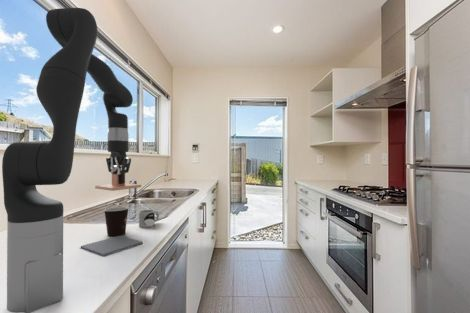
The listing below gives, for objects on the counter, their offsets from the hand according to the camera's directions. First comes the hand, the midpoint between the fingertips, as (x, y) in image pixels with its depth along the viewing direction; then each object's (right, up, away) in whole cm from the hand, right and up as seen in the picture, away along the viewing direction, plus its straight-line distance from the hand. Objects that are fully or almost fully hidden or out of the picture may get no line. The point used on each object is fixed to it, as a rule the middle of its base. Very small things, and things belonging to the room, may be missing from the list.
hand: (118, 183), depth 99 cm
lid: (0, -2, 0) cm, 2 cm away
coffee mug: (-1, -21, +2) cm, 21 cm away
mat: (+4, -20, -13) cm, 24 cm away
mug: (+7, -21, +14) cm, 26 cm away
